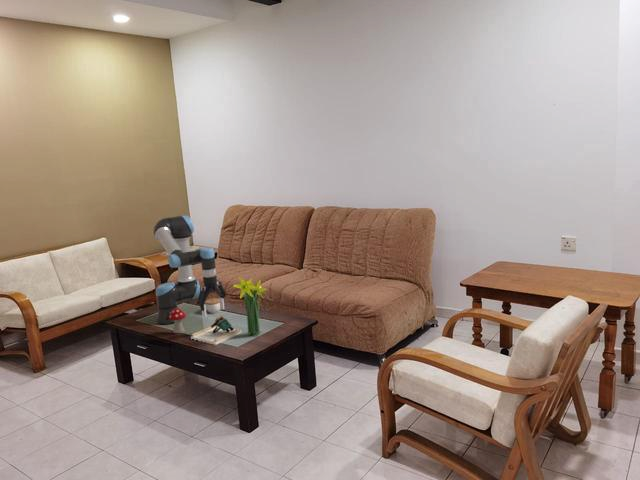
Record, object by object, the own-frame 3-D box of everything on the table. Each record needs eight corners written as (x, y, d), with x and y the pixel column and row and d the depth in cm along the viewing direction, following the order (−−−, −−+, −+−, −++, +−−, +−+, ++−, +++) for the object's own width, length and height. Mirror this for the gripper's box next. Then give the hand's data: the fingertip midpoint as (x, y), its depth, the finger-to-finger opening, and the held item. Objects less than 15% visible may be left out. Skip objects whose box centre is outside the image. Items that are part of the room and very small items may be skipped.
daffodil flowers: (258, 327, 298) (252, 269, 293) (274, 332, 288) (269, 272, 282) (235, 336, 287) (228, 275, 281) (251, 341, 276) (245, 279, 271)
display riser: (190, 339, 287) (190, 334, 286) (217, 328, 303) (216, 323, 302) (215, 344, 275) (215, 340, 275) (241, 332, 291) (240, 328, 291)
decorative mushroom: (190, 330, 302) (187, 306, 299) (183, 335, 294) (180, 310, 291) (174, 330, 304) (171, 306, 301) (167, 335, 295) (164, 311, 293)
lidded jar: (210, 309, 342) (208, 296, 340) (225, 309, 339) (223, 295, 338) (203, 314, 331) (201, 300, 330) (218, 314, 329) (217, 300, 327)
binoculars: (219, 342, 284) (230, 330, 282) (206, 329, 286) (216, 316, 284) (226, 338, 293) (236, 326, 291) (214, 325, 295) (224, 313, 292)
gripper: (196, 282, 271) (201, 320, 275) (230, 271, 291) (234, 306, 295) (187, 280, 275) (191, 318, 279) (221, 270, 295) (224, 305, 299)
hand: (213, 312), depth 287 cm, fingers open, 13 cm apart
